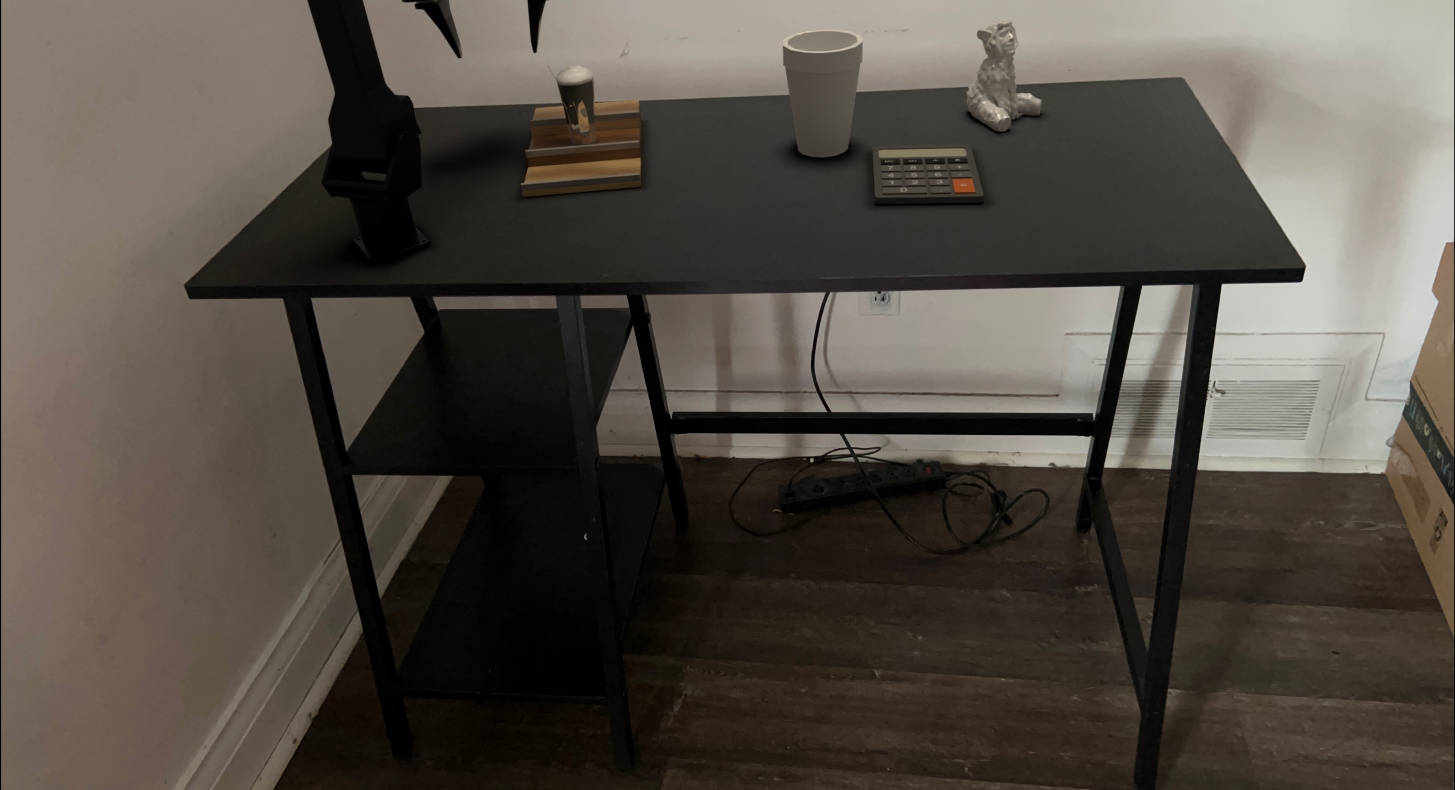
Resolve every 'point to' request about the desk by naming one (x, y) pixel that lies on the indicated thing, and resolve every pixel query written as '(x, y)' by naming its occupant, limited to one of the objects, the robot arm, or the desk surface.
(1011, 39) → the seated beast figurine
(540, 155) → the rack
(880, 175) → the calculator
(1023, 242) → the desk surface
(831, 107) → the foam cup
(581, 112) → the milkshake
